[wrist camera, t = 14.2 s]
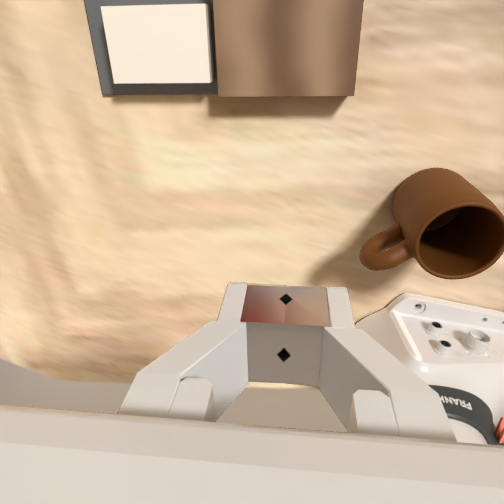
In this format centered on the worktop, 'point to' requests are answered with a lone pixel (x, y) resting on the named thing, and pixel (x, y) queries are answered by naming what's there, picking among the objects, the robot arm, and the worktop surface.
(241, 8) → the brown wooden flat board
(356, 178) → the worktop surface
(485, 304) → the worktop surface
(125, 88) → the mat
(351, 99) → the worktop surface
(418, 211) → the mug
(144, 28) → the ivory block
